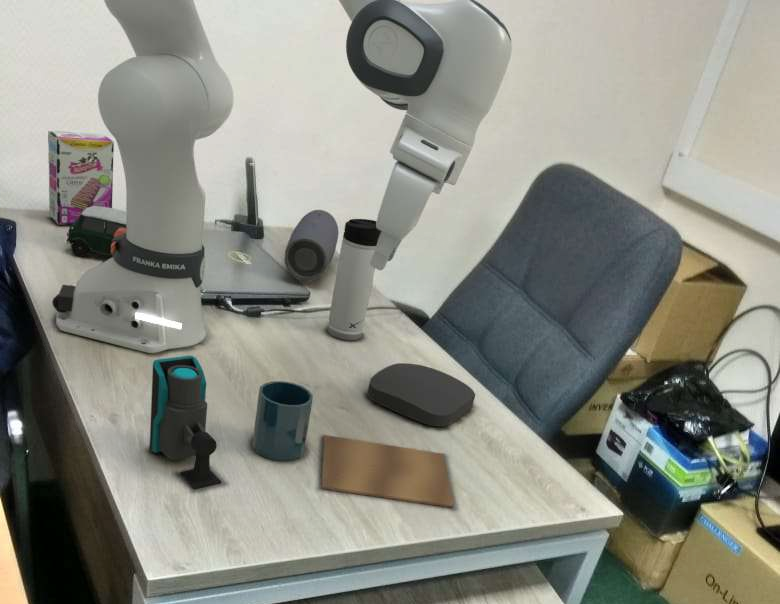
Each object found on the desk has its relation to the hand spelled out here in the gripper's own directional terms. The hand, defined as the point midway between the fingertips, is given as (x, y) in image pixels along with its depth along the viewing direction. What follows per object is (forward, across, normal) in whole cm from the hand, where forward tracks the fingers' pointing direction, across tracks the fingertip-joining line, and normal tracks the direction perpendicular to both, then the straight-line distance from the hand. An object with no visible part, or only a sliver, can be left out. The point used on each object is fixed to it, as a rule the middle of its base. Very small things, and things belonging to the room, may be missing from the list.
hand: (380, 263), depth 103 cm
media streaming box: (+19, -17, +14) cm, 29 cm away
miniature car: (+28, -46, -48) cm, 72 cm away
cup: (+26, +7, -2) cm, 27 cm away
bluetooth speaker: (+18, -65, -17) cm, 70 cm away
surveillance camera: (+30, +16, -11) cm, 35 cm away
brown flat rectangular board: (+23, +6, +12) cm, 27 cm away
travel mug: (+19, -36, -3) cm, 41 cm away
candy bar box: (+28, -59, -62) cm, 90 cm away
